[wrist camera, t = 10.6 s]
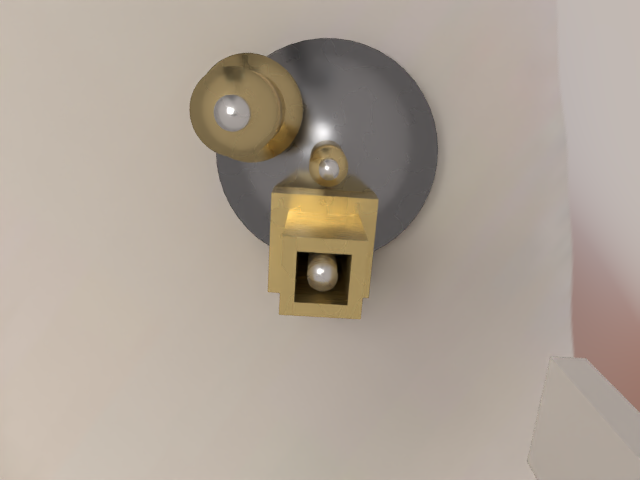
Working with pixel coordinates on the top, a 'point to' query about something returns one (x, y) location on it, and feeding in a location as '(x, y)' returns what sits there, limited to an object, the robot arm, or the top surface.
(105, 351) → the top surface
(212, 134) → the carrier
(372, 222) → the brass square sleeve
